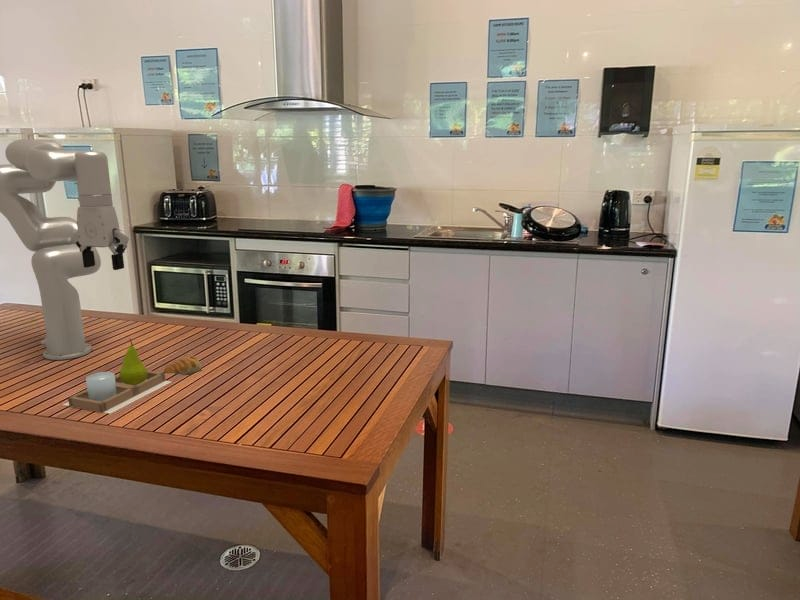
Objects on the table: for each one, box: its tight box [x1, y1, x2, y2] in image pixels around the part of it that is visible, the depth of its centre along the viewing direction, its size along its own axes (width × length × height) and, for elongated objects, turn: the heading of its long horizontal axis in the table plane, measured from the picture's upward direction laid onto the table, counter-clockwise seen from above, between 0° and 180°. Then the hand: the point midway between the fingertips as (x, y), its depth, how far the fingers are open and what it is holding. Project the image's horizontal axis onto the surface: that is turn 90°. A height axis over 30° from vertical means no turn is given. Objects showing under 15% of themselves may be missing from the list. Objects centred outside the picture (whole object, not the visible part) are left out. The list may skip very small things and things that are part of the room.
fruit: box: [118, 338, 148, 385], centre depth 147 cm, size 6×6×12 cm
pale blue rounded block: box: [85, 371, 117, 401], centre depth 138 cm, size 6×6×6 cm
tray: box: [62, 370, 172, 414], centre depth 143 cm, size 14×20×3 cm
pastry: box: [163, 355, 202, 376], centre depth 160 cm, size 9×7×4 cm
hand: (104, 267), depth 155 cm, fingers open, 9 cm apart
